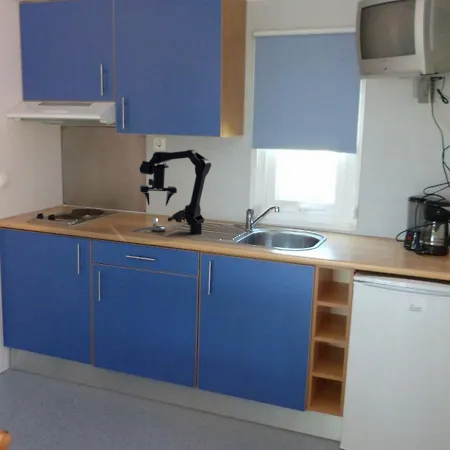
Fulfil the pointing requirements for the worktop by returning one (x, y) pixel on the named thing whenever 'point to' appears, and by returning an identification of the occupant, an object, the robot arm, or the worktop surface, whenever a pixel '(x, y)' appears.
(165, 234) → the board
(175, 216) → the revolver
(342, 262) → the worktop surface
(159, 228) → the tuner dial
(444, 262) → the worktop surface
